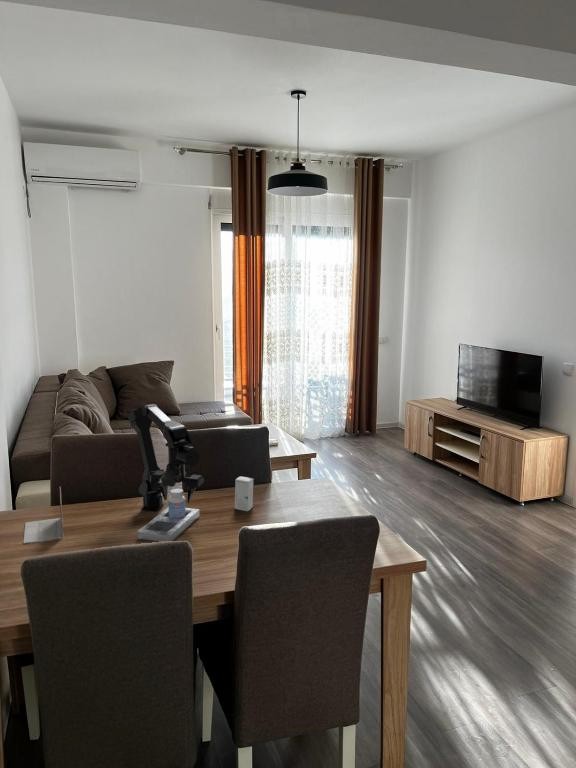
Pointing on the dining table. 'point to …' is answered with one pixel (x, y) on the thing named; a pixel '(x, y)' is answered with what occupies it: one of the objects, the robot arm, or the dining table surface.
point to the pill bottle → (176, 504)
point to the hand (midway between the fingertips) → (177, 501)
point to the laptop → (44, 529)
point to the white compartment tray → (167, 526)
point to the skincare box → (243, 493)
